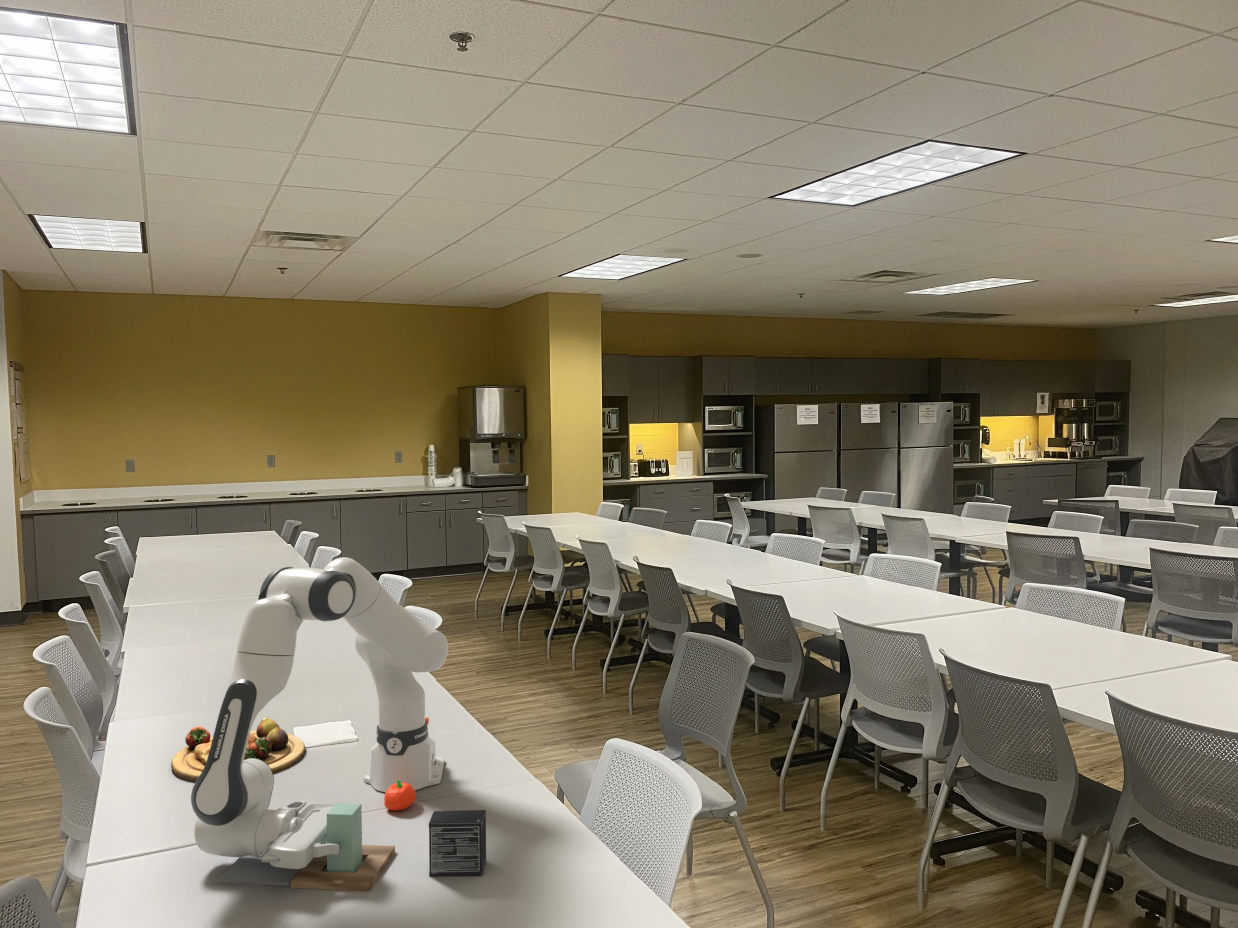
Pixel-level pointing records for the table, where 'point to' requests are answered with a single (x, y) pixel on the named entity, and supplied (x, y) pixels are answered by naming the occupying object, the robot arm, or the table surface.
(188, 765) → the wooden plate with food
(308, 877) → the pocket board
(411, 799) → the pumpkin
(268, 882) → the rubber mat
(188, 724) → the table surface
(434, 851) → the small box
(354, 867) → the green block
